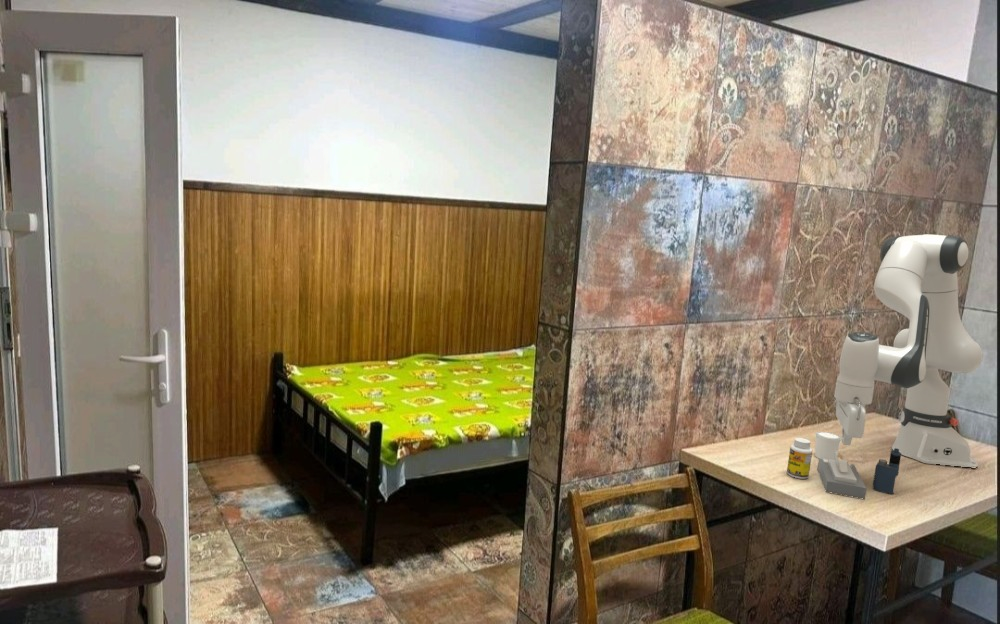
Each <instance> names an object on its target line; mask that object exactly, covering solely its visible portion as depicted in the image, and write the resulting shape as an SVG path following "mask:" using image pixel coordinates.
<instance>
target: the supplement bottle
mask: <svg viewBox="0 0 1000 624" xmlns="http://www.w3.org/2000/svg"><path fill="white" fill-rule="evenodd" d="M812 457H813V449H812V448H811V440H809V439H806V438H803V437H795V438H794V442H793V443H792V444H791V445H790V447H789V453H788V461H787V468H786V474H787V475H788V476H790V477H792V478H794V477H795V479H799V480H800V479H801V480H806V479H808V478H809V476H810V472H811V471H810V470H811V463H812Z"/></svg>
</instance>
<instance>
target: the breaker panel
mask: <svg viewBox="0 0 1000 624" xmlns="http://www.w3.org/2000/svg"><path fill="white" fill-rule="evenodd" d="M846 463H847V470H848V472H841V471H840V469H839V466H838V465H837V462H836V460H832V459H828V460H827V459H819V458H818V461H817V467H816V468H817V472H818V474H819V477H820V481H821V482H822V485H824V486H823V488H825V489H824V491H825V490H826V491H825V493H827V492H832V493H831V494H833V493H837V494H836V495H838V494H842V495H841V496H844V495H847V496H846V497H849V496H853V497H852V498H854V497H858V498H857V499H860V498H863V499H862V500H865V499H866V492H867V486H866V485H865V483H864V481H863V479H862V477H861V476H860V473H859V472H858V470H857V467H856V465H855V464H852V463H850V462H848V461H846Z"/></svg>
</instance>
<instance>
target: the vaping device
mask: <svg viewBox="0 0 1000 624" xmlns="http://www.w3.org/2000/svg"><path fill="white" fill-rule="evenodd" d="M889 455H890V456H889V460H888V461H887V460H886V459H881V458H880V459H878V462H877V464H876V465H875V468H874V475H873V481H872V487H873V489H872V490H874V491H876V492H881V493H885V494H888V495H893V494H894V489H895V483H896V478H897V476H898V475H899V472H900V471H899V470H900V463H901V458H902V457H901V456H902V454H901V453H900V452H899V449H896V448H895V449H894V450H891V451H890V454H889Z"/></svg>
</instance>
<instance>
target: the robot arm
mask: <svg viewBox="0 0 1000 624" xmlns="http://www.w3.org/2000/svg"><path fill="white" fill-rule="evenodd" d="M879 257H880V262H881V263H880V266H879V268H878V271H877V273H876V276H875V280H874V284H873V292H874V294H875V296H876V298H877V299H878V300H879V301H880V302H881V303H882V304H883V305H884V306H886V307H887V308H889V309H891V310H893V311H895V312H897V313H899V314H900V315H903V316H904V317H905V318H907V319H908V320H909V325H908V328H904V329H902V330H900V331H899V332H898V333H897V334H896V336H895V337H894V340H893V346H890V345H889V346H888V345H885V344H884V345H883V344H880V339H879V336H878V335H876V334H874V333H870V332H865V331H855V332H850V333H848V334H847V335H846V336H845V338H844V342H843V344H842V348H841V352H840V357H839V363H838V365H839V374H838V375H837V378H836V383H835V389H834V398H835V399H836V400H835V401H836V403H835V416H836V418H837V420H838V421H839V423H840V425H841V442H842V445H844V446H848V447H849V446H851V445H852V439H853V438H857V439H862V438H863V436H864V434H865V433H864V432H865V425H866V413H867V412H866V406H867V405H872V403H873V396H874V391H875V381H879V382H883V383H887V384H890V385H891V384H892V385H894V386H896V387H897V386H898V387H899V388H904V389H906V397H905V404H904V406H903V407H902V410H901V415H900V427H899V430H898V433H897V436H896V439H895V440H894V443H893V444H892V446H891V449H892V451H894V449H895V448H896V449H899V452H900V453H901V456H905V457H907V458H911V459H913V460H916V461H918V462H921V463H924V464H928V465H936V464H940V465H939V466H945V465H951V466H950V467H954V466H961V467H960V468H962V467H977V466H978V467H979V463H978V461H977V460H976V459H975V458H974V457H973V456H971V447H970V444H969V442H968V441H967V439H965V438H964V437H963V436H962V435H961V434H959V432H958V431H957V430H955V429H954V428H953V427H952V426H954V427H955V426H958V425H959V420H958V419H957V418H955V417H952V415H950V414H948V408H949V402H950V396H951V389H950V387H949V385H948V384H947V383H946V382H945V381H944V380H943V379H942V377H941V375H940V371H939V370H941V371H945V372H950V373H957V374H958V373H959V374H970V373H972V372H974V371H976V370H977V369H978V368H979V366H980V365H981V364H982V360H983V350H982V348H981V346H980V344H978V343H977V342H976V341H975V340H974V339H973V338H972V337H971V335H970V334H969V333H968V332H967V330H966V329H965V326H964V324H963V322H962V318H961V317H960V312H959V311H960V310H959V284H958V283H959V280H958V279H959V278H958V272H959V271H960V270H962V269H963V268H964V267H965V266H966V264H967V261H968V260H969V259H968V258H969V244H968V243H967V241H966V240H965V239H964V238H963V237H962V236H958V235H953V234H948V235H944V234H943V235H942V234H930V233H929V234H926V233H924V234H917V235H916V234H913V235H912V234H911V235H904V236H903V235H896V236H895V235H894V236H891V237H889V238H888V239H886V240H885V241H884V242H883V244H882V245H881V247H880V253H879Z"/></svg>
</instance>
